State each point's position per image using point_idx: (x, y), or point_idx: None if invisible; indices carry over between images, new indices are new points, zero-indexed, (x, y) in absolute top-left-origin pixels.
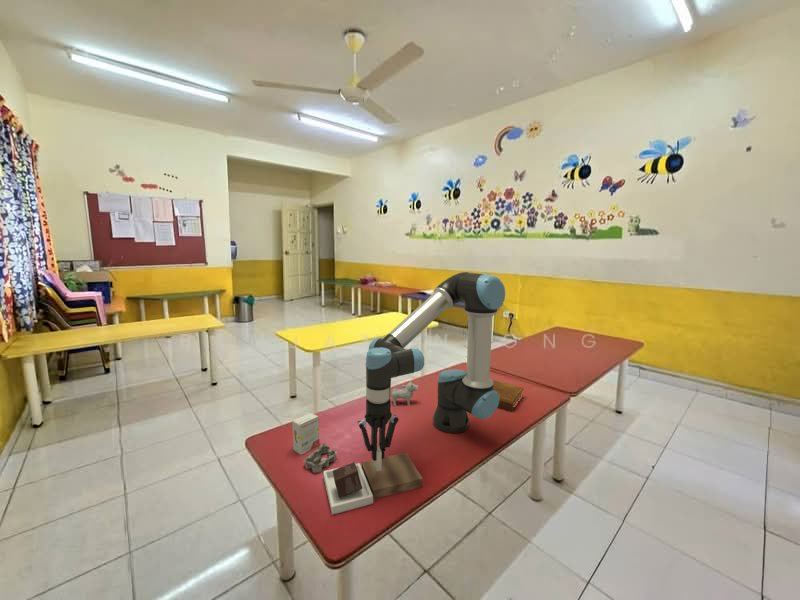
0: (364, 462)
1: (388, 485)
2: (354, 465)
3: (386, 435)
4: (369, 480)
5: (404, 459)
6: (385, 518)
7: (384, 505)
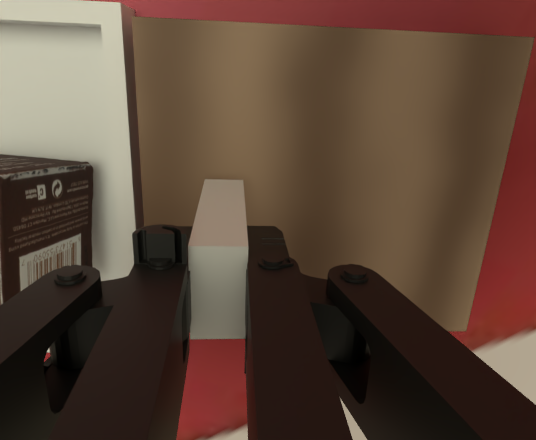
0: (156, 29)
1: None
2: None
3: (384, 356)
4: None
5: (472, 121)
6: (187, 410)
7: (206, 348)
